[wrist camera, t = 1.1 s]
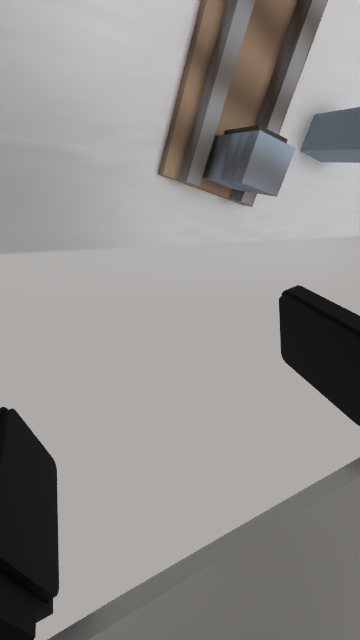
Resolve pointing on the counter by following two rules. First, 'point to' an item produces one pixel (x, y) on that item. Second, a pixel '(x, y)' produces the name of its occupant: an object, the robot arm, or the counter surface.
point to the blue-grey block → (334, 136)
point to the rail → (239, 96)
